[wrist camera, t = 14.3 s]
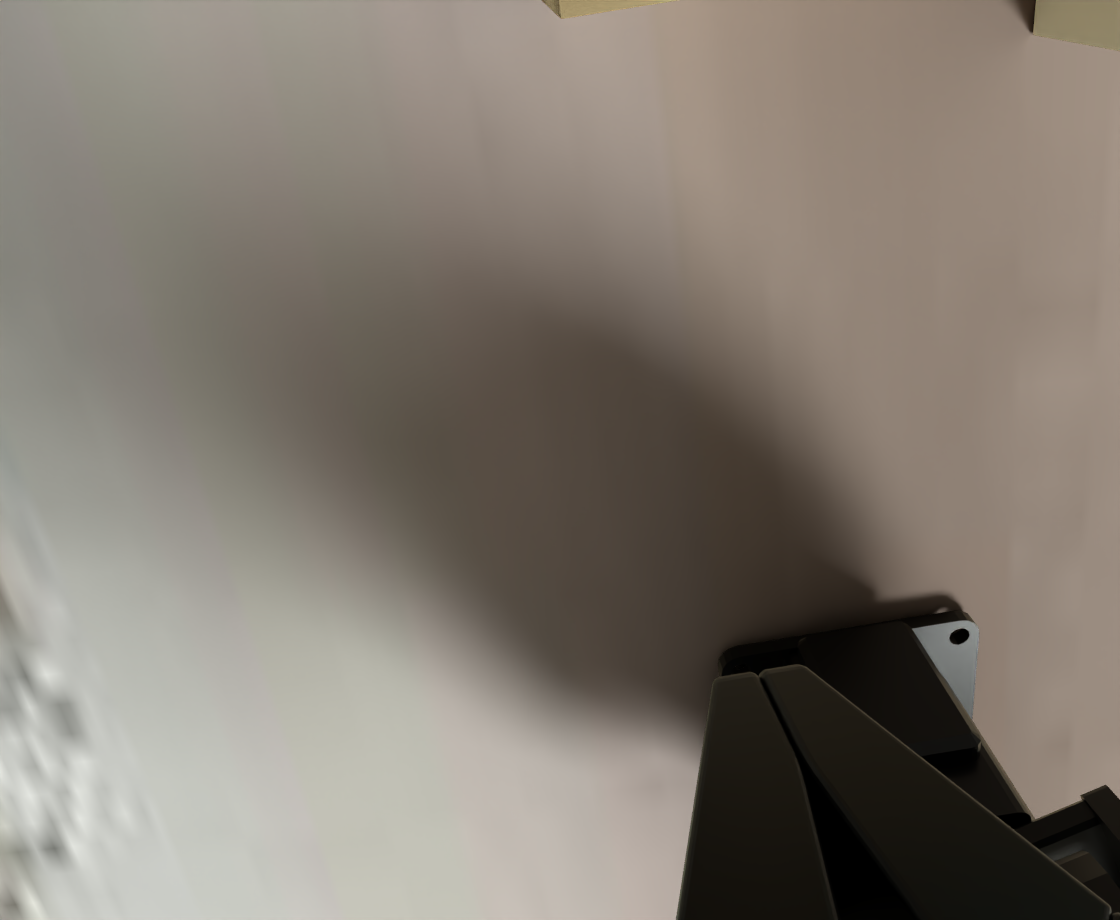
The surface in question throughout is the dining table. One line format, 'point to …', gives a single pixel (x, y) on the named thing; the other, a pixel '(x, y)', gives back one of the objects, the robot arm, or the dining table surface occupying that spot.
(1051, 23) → the stop wall
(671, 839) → the dining table surface
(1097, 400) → the dining table surface
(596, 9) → the block
